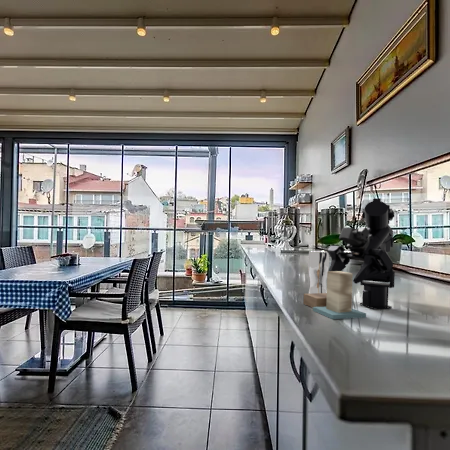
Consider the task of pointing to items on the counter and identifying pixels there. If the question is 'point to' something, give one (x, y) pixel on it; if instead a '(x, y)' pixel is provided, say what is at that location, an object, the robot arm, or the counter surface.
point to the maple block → (339, 291)
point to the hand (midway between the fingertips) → (341, 279)
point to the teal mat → (337, 315)
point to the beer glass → (318, 271)
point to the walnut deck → (315, 299)
